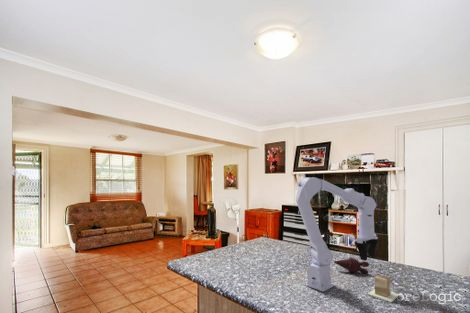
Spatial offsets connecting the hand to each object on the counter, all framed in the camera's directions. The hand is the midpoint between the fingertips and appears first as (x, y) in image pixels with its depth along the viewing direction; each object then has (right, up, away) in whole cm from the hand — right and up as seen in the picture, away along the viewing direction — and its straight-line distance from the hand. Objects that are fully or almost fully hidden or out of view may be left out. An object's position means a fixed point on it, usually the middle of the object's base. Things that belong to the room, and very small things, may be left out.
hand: (367, 258), depth 107 cm
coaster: (0, -9, -12) cm, 15 cm away
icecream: (-1, -12, +13) cm, 18 cm away
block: (0, -9, -11) cm, 14 cm away
